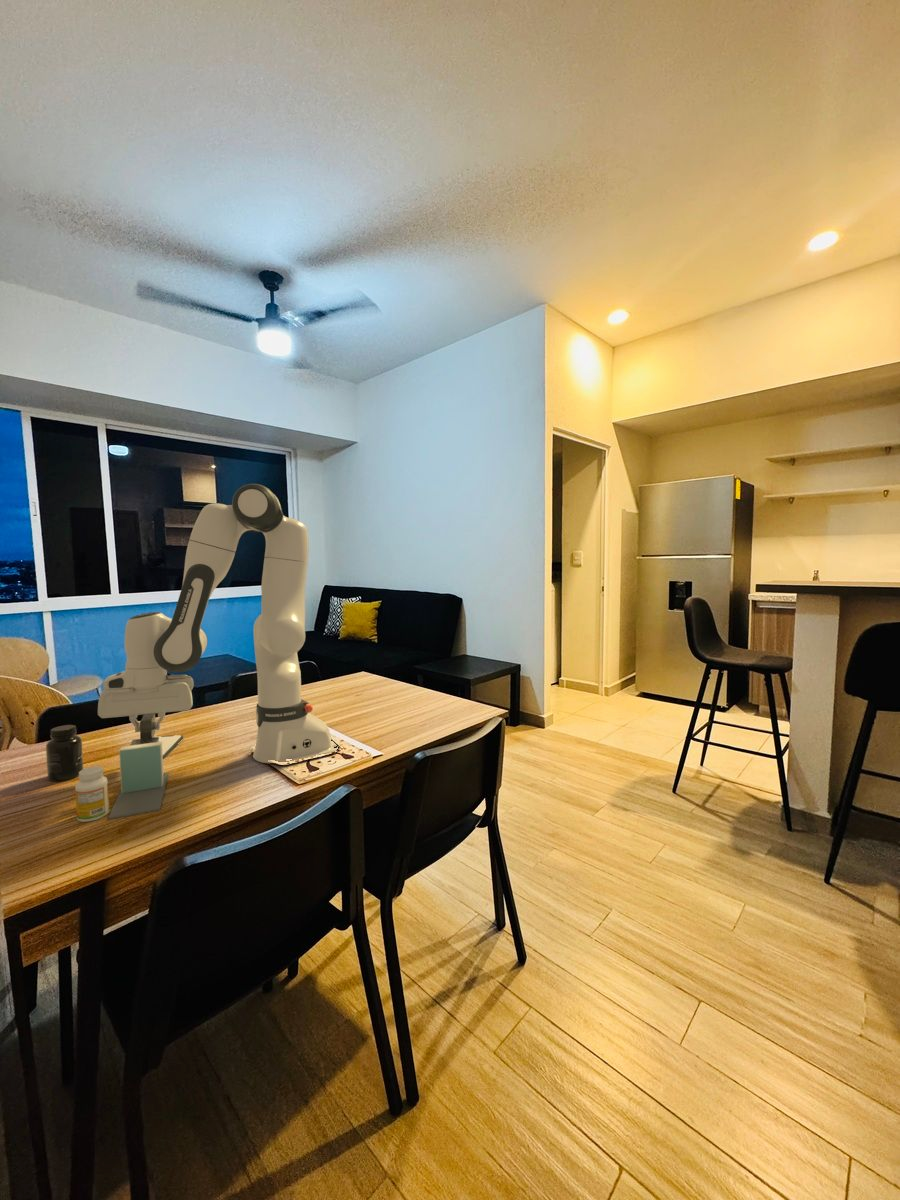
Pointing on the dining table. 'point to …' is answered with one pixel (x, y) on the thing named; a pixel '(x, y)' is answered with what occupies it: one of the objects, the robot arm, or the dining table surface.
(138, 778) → the tile
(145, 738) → the grey post on base
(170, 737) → the phone case
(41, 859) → the dining table surface
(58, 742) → the supplement bottle
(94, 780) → the supplement bottle
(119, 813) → the mat
